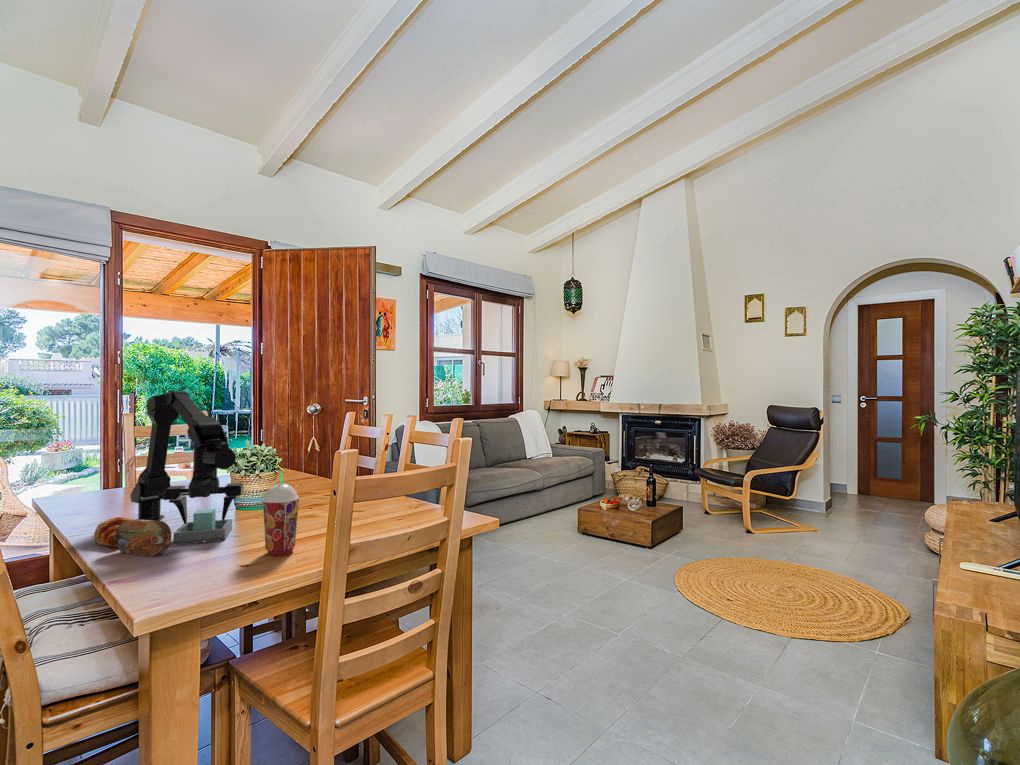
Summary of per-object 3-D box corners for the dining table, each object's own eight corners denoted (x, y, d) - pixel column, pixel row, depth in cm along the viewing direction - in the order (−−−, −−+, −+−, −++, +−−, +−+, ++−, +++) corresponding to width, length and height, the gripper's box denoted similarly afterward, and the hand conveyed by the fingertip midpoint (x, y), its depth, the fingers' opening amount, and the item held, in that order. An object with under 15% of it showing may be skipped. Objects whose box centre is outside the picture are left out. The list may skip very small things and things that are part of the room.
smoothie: (304, 552, 131) (305, 472, 131) (270, 560, 125) (272, 476, 125) (289, 545, 136) (290, 469, 137) (256, 552, 130) (257, 472, 131)
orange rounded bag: (113, 553, 129) (114, 519, 129) (125, 549, 132) (126, 516, 133) (162, 558, 126) (162, 523, 126) (173, 554, 129) (174, 520, 129)
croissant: (103, 546, 147) (86, 523, 144) (142, 524, 152) (126, 502, 150) (105, 564, 130) (86, 538, 128) (148, 539, 136) (131, 514, 134)
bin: (184, 532, 148) (185, 522, 148) (232, 529, 152) (232, 519, 152) (173, 544, 136) (173, 533, 136) (224, 540, 140) (224, 529, 141)
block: (197, 531, 146) (197, 510, 146) (215, 530, 147) (215, 509, 147) (193, 535, 141) (193, 513, 141) (211, 534, 143) (212, 512, 143)
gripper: (157, 471, 134) (156, 532, 133) (238, 468, 140) (237, 526, 140) (169, 465, 144) (168, 522, 144) (244, 463, 150) (243, 517, 150)
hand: (204, 522), depth 144 cm, fingers open, 9 cm apart
